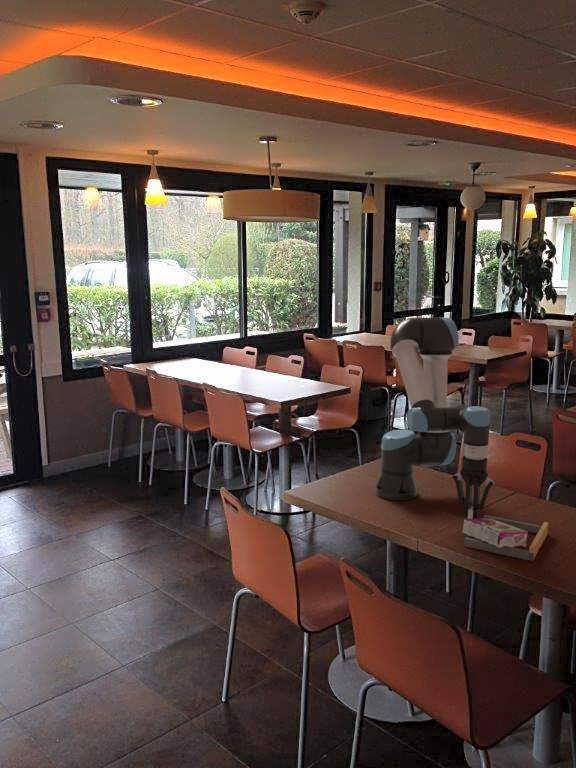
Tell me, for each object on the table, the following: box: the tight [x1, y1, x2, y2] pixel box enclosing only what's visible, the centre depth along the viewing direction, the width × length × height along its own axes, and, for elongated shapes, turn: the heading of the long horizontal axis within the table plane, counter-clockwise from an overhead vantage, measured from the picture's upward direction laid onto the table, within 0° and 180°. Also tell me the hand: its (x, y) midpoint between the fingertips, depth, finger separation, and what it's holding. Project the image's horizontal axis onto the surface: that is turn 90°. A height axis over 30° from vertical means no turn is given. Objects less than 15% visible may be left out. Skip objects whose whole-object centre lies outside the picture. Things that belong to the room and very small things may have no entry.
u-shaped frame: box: [463, 514, 549, 562], centre depth 211 cm, size 20×22×4 cm
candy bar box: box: [462, 518, 529, 548], centre depth 207 cm, size 11×5×16 cm
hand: (470, 527), depth 217 cm, fingers closed
